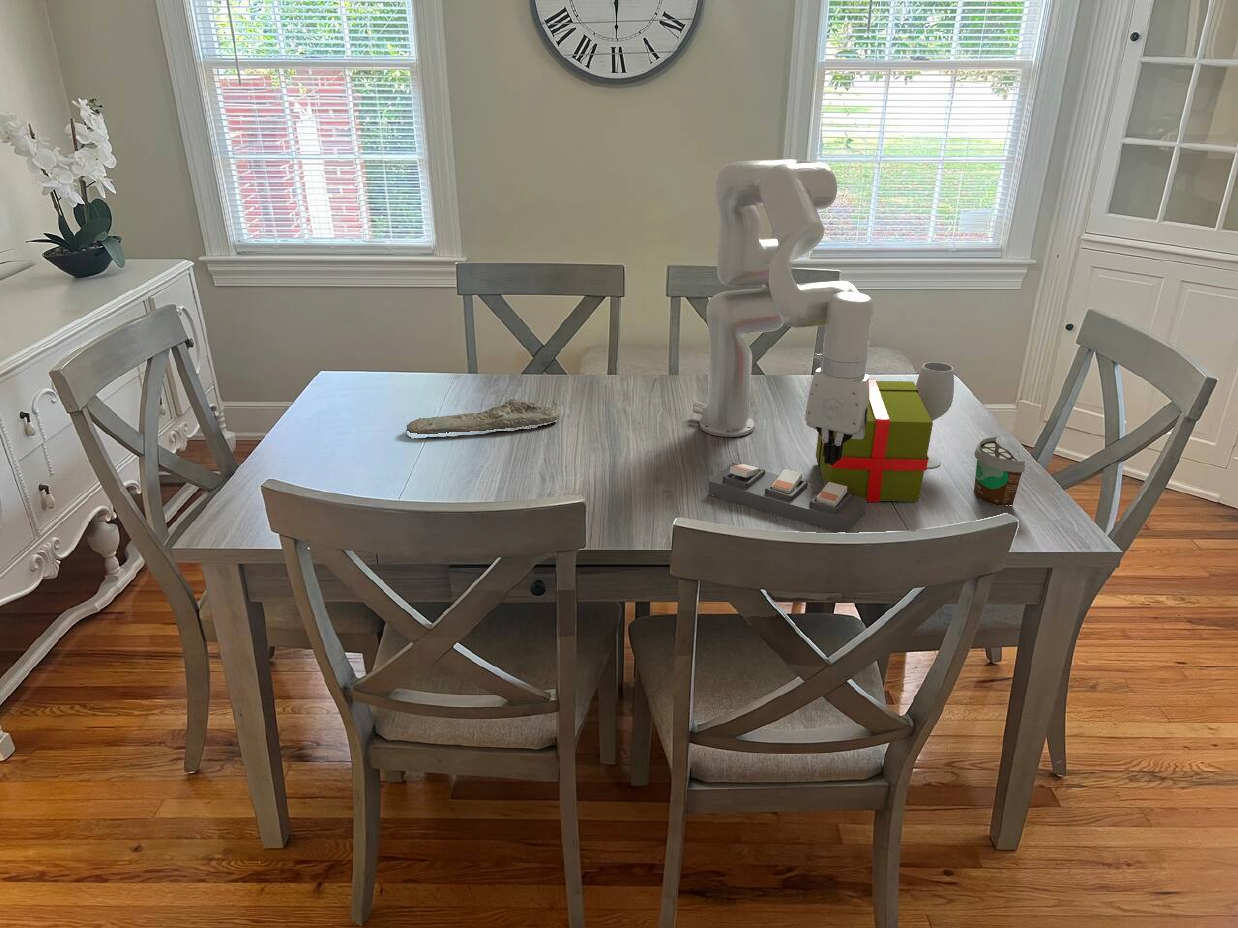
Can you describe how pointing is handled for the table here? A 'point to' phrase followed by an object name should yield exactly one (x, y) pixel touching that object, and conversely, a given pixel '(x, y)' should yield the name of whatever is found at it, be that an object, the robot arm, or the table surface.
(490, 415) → the elongated rock
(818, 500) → the rocker
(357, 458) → the table surface
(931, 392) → the wineglass
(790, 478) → the rocker
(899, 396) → the gift box
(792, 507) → the power strip
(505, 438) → the table surface
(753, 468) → the rocker
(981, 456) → the food container
